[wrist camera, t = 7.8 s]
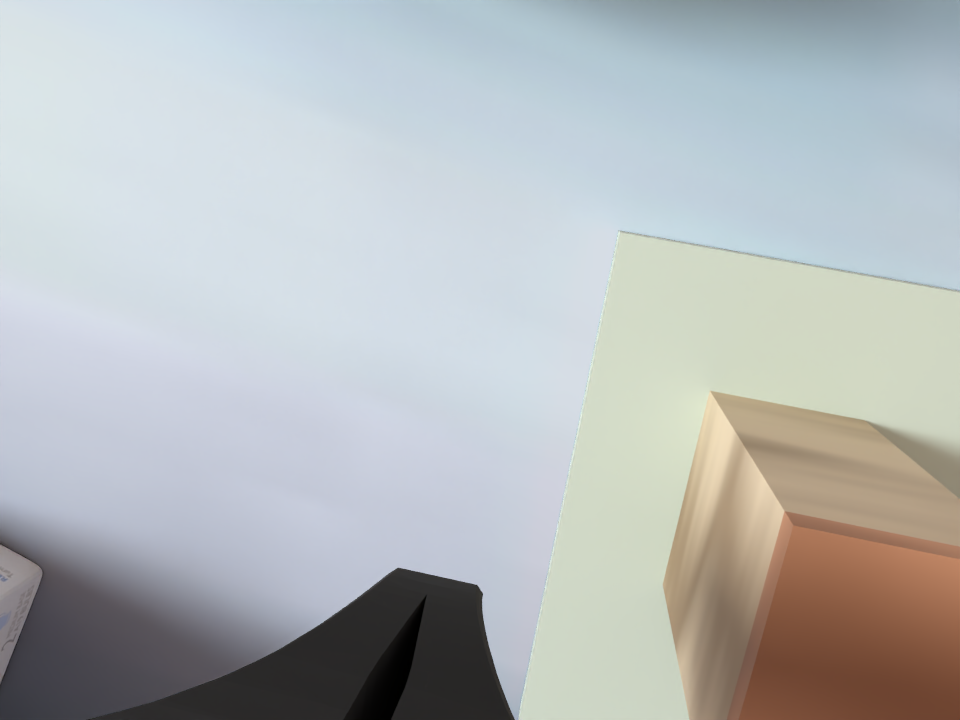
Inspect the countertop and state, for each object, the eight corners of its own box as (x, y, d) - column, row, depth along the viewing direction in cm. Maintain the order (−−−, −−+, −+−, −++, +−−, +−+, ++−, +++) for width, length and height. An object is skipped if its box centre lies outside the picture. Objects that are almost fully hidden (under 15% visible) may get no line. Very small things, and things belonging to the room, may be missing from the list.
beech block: (807, 615, 19) (944, 878, 12) (662, 584, 19) (710, 822, 12) (864, 420, 18) (1055, 578, 11) (710, 390, 18) (792, 525, 11)
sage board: (857, 785, 21) (867, 808, 20) (519, 706, 22) (517, 726, 21) (1017, 301, 18) (1036, 306, 17) (618, 230, 19) (620, 232, 18)
